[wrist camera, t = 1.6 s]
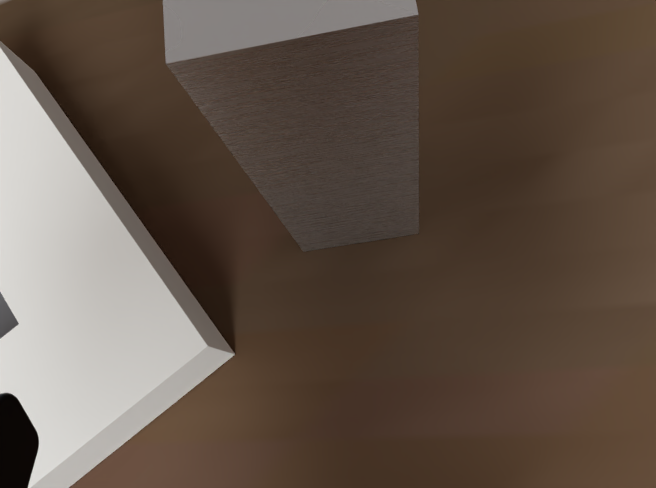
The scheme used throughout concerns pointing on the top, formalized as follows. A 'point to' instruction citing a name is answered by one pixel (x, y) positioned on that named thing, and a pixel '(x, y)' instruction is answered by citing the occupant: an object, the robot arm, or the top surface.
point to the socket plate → (83, 294)
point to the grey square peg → (311, 106)
